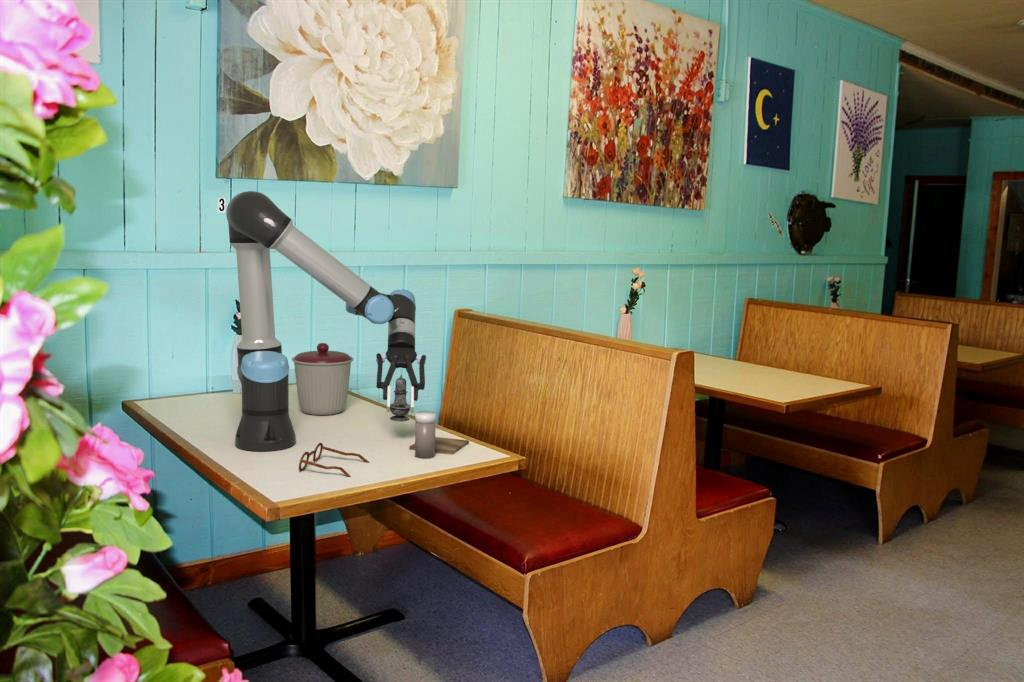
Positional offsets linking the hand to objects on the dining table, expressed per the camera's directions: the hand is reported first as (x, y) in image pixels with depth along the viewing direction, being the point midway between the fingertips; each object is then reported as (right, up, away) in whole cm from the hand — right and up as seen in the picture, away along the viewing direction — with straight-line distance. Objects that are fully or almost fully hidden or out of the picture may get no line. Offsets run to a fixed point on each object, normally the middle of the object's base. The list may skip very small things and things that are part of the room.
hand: (400, 409), depth 232 cm
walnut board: (+10, -10, +2) cm, 14 cm away
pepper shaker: (+7, -11, -7) cm, 15 cm away
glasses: (-13, -13, -20) cm, 27 cm away
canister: (-28, -4, +37) cm, 47 cm away
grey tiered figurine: (-1, -3, +4) cm, 5 cm away
